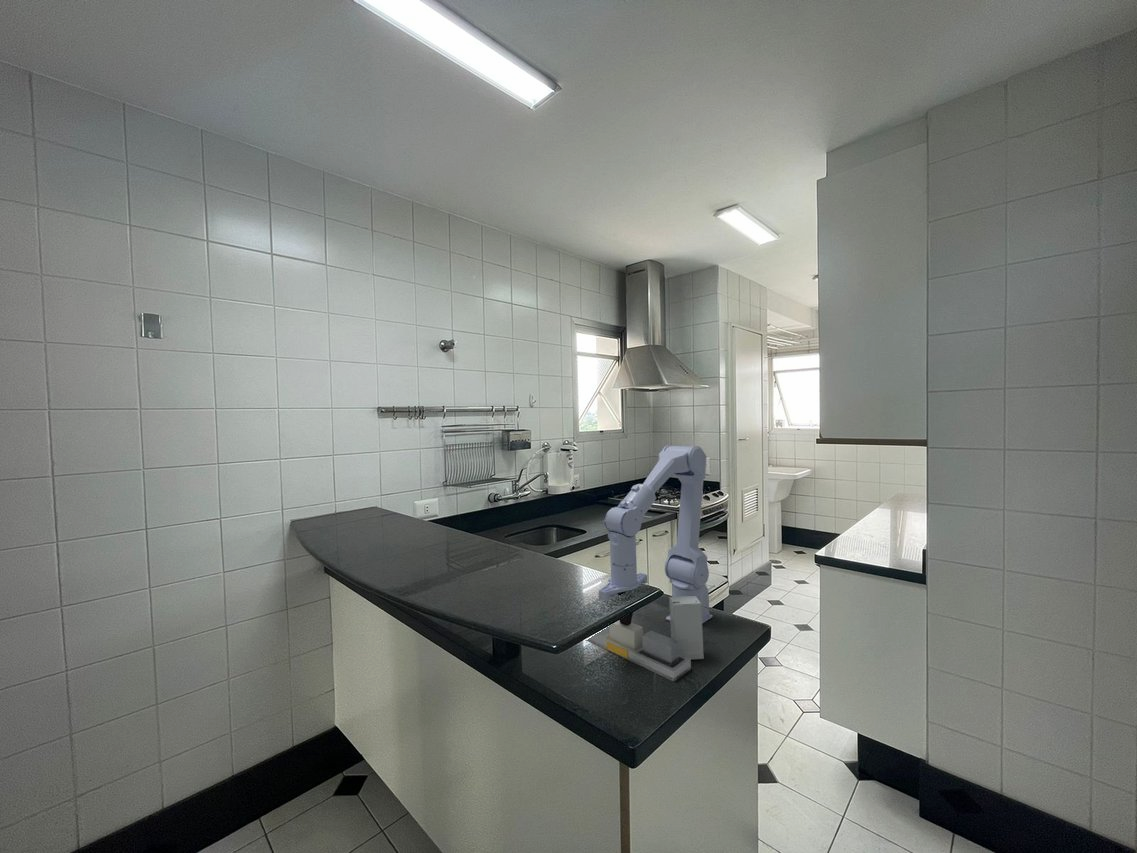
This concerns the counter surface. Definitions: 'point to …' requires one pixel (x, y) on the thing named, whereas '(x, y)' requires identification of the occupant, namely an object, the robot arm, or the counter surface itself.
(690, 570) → the robot arm
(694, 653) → the skincare box
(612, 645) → the tray
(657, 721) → the counter surface
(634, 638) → the tall white prism
